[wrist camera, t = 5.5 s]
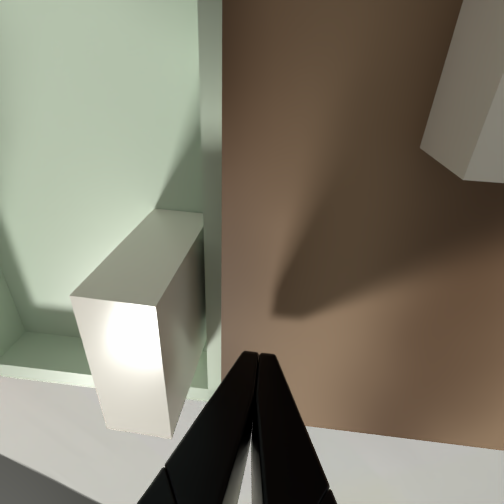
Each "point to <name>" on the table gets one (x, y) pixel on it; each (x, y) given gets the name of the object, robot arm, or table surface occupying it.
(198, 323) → the tile
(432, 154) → the tile
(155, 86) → the tray
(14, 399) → the table surface
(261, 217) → the board
